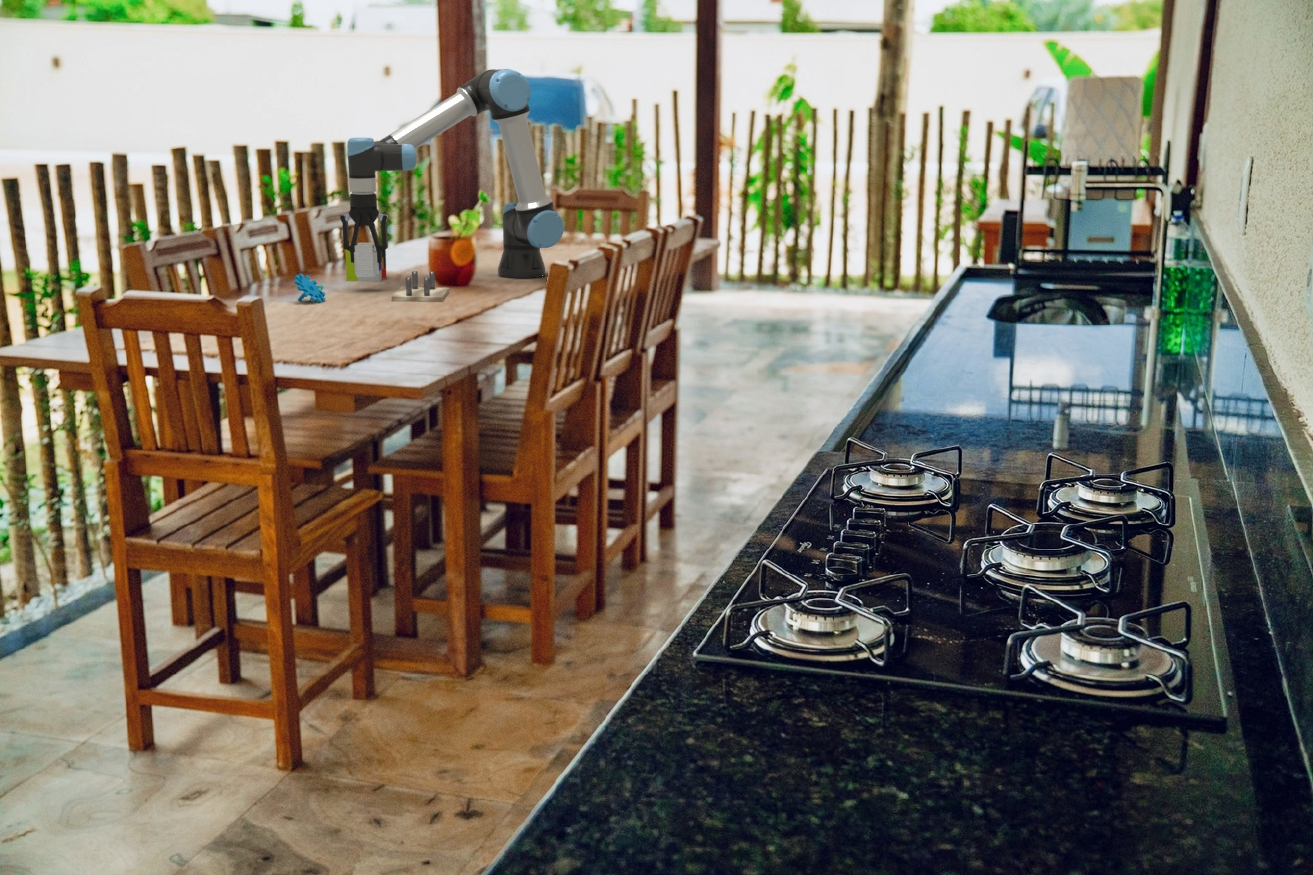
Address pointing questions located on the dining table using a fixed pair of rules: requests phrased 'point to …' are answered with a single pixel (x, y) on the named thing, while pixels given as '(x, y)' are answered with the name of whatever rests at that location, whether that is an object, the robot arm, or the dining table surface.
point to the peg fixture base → (420, 290)
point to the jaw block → (365, 259)
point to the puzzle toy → (352, 277)
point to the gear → (309, 288)
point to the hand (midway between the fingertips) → (367, 273)
